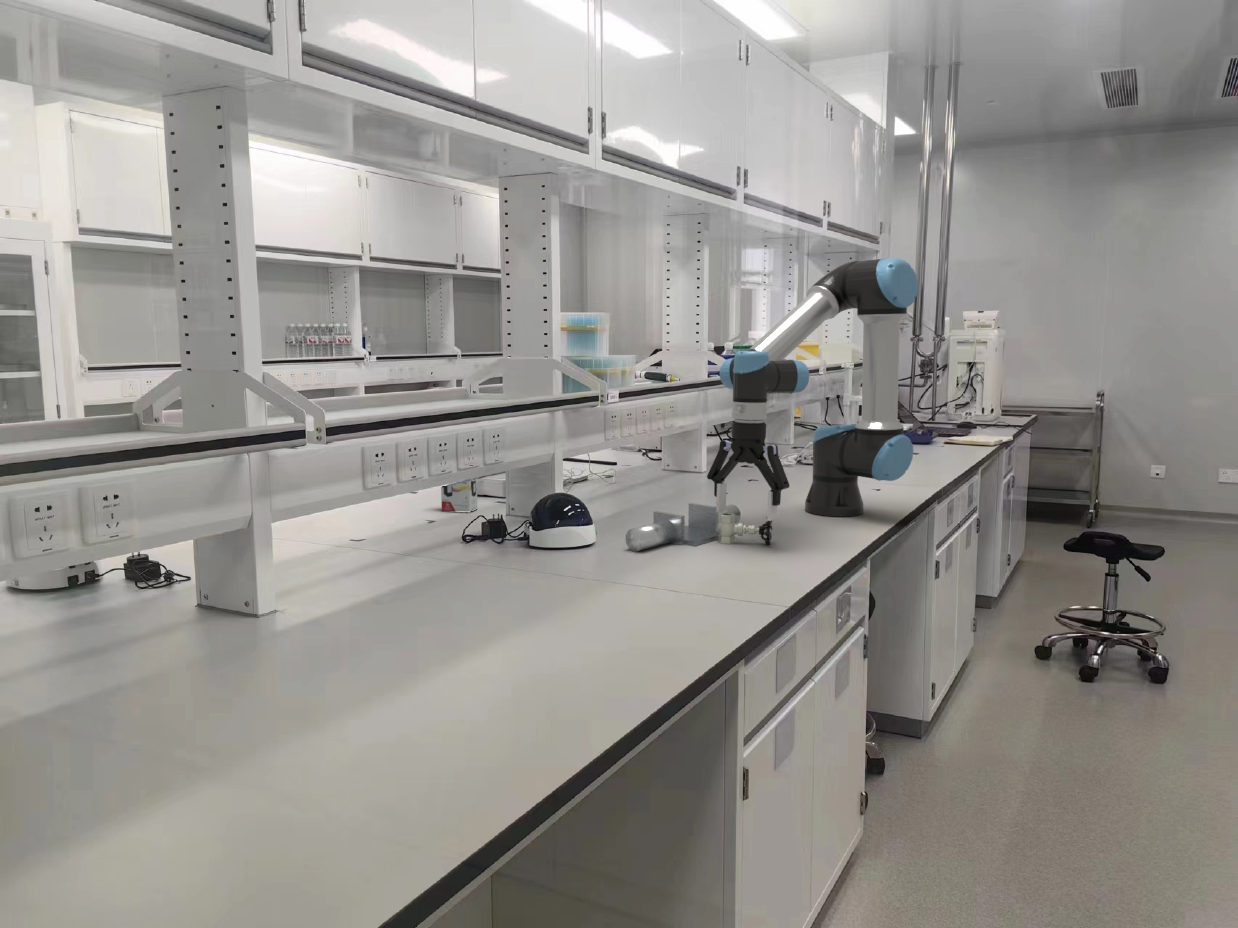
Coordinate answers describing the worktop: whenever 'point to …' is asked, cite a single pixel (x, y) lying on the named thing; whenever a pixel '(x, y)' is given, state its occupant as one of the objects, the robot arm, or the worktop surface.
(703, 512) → the pipe run
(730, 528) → the valve
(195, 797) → the worktop surface
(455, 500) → the ink box
